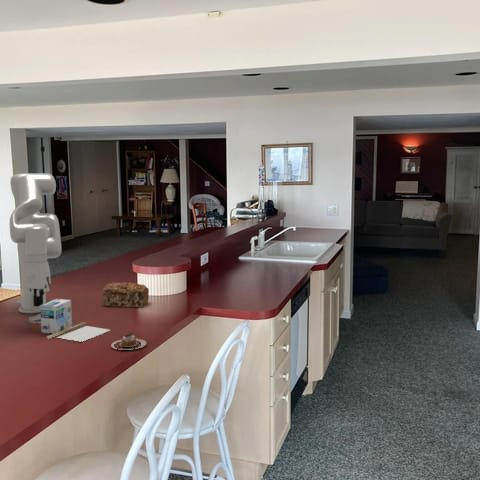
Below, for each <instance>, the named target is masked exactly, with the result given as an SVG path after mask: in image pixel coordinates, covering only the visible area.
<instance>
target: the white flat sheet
mask: <svg viewBox="0 0 480 480" xmlns="http://www.w3.org/2000/svg"><path fill="white" fill-rule="evenodd" d="M106 332H107V333H109V332H111V329H108V328H101V327H95V326H89V325H85V326H83V327H80V328H77V329H75V330H72V331H70V332H67V333H64V334H62V335H59V336H57V337H56V339H57V338H62V339H67V340H74V341H79V342H81V341H82V342H83V341H86V340H88V339H90V340H92V339H91V338H93V339H94V337H95V338H97V337H99V335H100V336H102V335H105V334H107V333H106ZM104 333H105V334H104ZM96 336H97V337H96ZM62 339H61V340H62ZM67 340H66V341H67ZM88 341H89V340H88ZM86 342H87V341H86ZM83 343H84V342H83Z"/></svg>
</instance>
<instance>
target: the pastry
mask: <svg viewBox="0 0 480 480" xmlns="http://www.w3.org/2000/svg"><path fill="white" fill-rule="evenodd" d="M136 341H139V342H141V346H140V345H139V346H138V348H137V345H138V343H137V342H136ZM117 342H121V343H120V344H119V346H120V347H121V348H120V349H118V350H117V348H115V347H114V344H116V343H117ZM121 345H122V346H124V347H132V348H122V346H121ZM146 345H147V341H146V340H144V339H141V338H136V336H135V335H133V333H132V332H126V333H124V336H122V338H121V339H117V340H116V341H114V342H112V343H111V345H110V347H111V348H112V349H114V350H117V351H121V350H129V351H130V350H131V351H134V350H133V349H134V348H135V349H138V350H140V349H142V348H145V346H146ZM134 346H135V347H134ZM139 348H140V349H139Z"/></svg>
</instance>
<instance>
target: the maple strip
mask: <svg viewBox="0 0 480 480" xmlns="http://www.w3.org/2000/svg"><path fill="white" fill-rule="evenodd" d="M82 326H83V327H85V326H87V322H85V321H84V322H81V323H79V324H76V325H73V326H72V327H70V328H68V329H65V330H62V331H60V332H57V333H54V334H49V335H47V336H46V339H47V338H48V339H47V340H50V339H49V338H51V339H53V338H52V337H54V338H56V337H55V336H57V337H59V336H61V335H60V334H62V335H64V334H66V333H65V332H67V333H69V332H68V331H70V332H72V331H74V330H73V329H75V330H77V329H80V328H82ZM79 327H80V328H79ZM76 328H77V329H76ZM71 330H72V331H71ZM63 333H64V334H63ZM58 335H59V336H58Z"/></svg>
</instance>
